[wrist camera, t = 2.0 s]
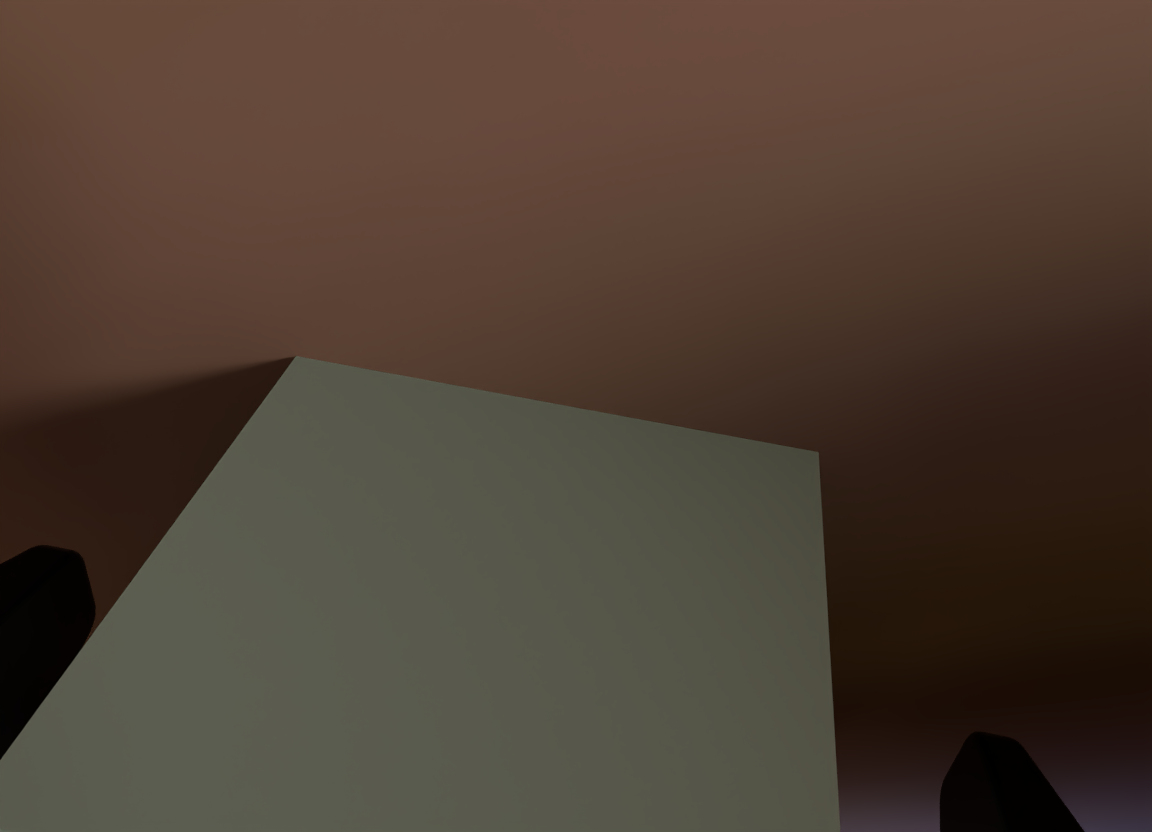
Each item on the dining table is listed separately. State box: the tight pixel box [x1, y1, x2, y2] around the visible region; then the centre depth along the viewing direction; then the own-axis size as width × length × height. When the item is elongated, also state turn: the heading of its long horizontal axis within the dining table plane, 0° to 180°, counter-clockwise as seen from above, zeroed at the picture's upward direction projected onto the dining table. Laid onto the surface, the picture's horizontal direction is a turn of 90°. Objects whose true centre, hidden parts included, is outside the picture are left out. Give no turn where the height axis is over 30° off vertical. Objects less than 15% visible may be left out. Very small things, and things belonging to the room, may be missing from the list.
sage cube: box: [0, 356, 840, 832], centre depth 9 cm, size 5×5×5 cm
